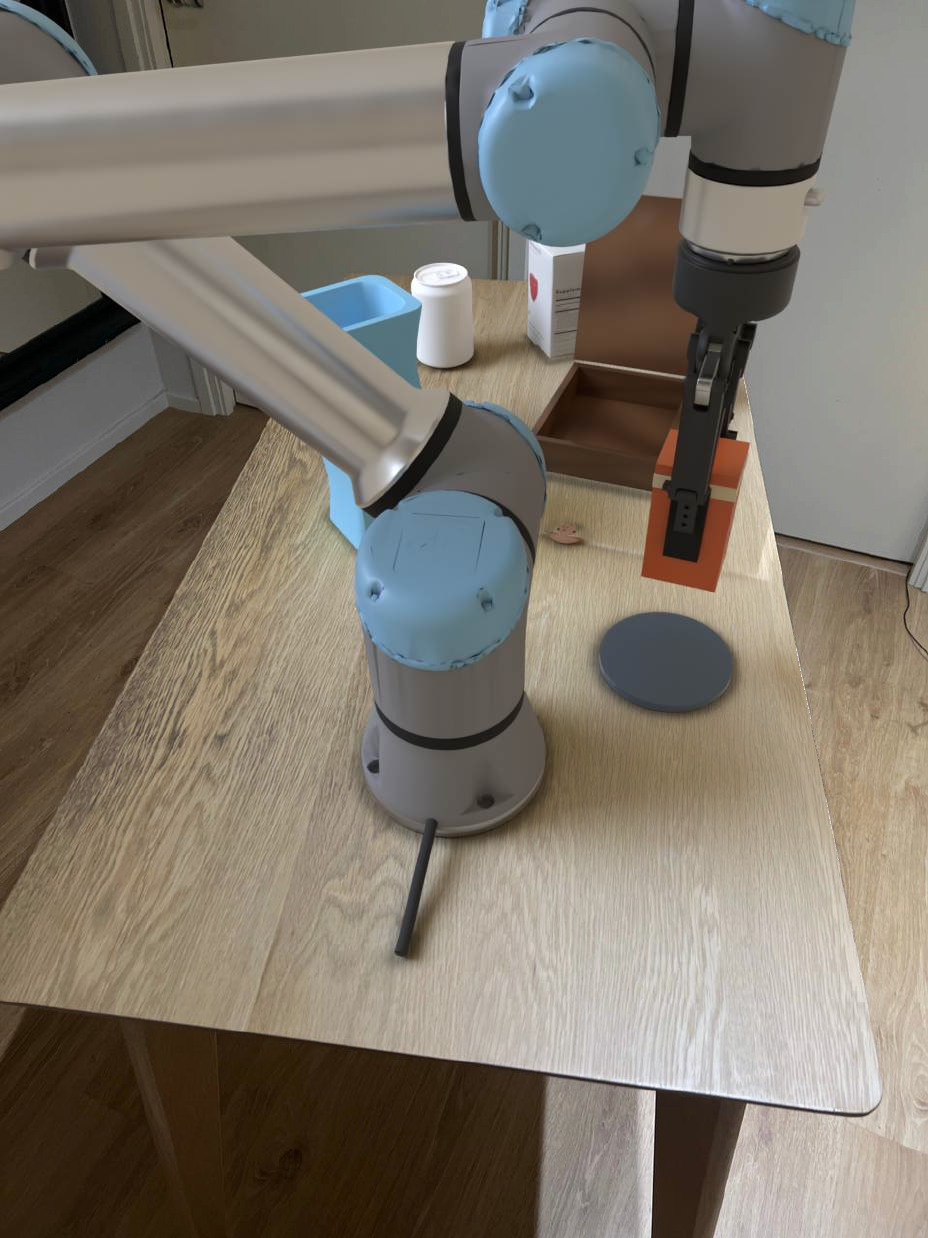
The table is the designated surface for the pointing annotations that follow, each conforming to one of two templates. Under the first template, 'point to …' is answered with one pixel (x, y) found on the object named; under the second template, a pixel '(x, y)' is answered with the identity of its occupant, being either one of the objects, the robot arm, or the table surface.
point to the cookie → (565, 534)
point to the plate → (665, 661)
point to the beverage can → (444, 315)
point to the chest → (609, 424)
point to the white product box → (554, 296)
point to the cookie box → (717, 522)
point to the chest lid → (635, 293)
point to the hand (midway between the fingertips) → (688, 533)
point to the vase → (391, 335)
